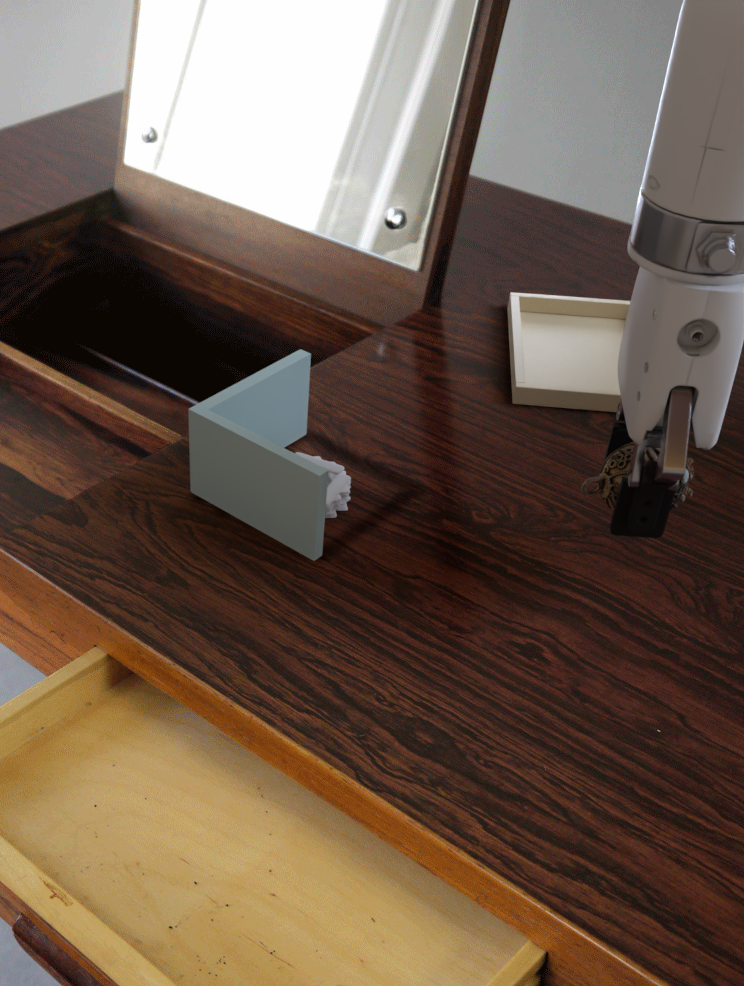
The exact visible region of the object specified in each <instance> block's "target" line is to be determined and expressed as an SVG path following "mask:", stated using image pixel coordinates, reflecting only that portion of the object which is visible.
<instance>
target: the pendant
mask: <svg viewBox="0 0 744 986" xmlns="http://www.w3.org/2000/svg"><path fill="white" fill-rule="evenodd" d="M633 447H634V442H631V443H629V444H626V445H624V446H622V447H620V448H618V449H617V450H615V451H614V452H612V453H611V454H610V455H609V456H608V457H607V459H606V460H605V461H604V460H603V462H604V463H602V465H601V469H600V470H599V475H598V476H591V477H588V478H586V479H585V480H584V481H583V482H582V484H581V487H580V492H581V493H582V495H583V496H589V497H591V496H596V495H598V494H599V495H600V497H601V499H602V501H604V503H605V505H606V506H607V508H609V509H611V510H614V507H615V503H616V499H617V495H618V492H619V488H620V484H621V480H622V477H628V475H629V469H630V464H631V458H632V453H633ZM659 453H660V448H653V447H647V449H646V454H645V459H644V465H645V464H646V463H647V462H648V461H656V459H657V458H658V457H659ZM693 463H694V459H693V458H692V457H691V456H687V459H686V468H685V474H684V477H683V478H682V479H680V480H679V485H678V488H677V490H676V493H675V496H674V499H673V503H672V506H671V509H670V512H673V511H675V510H676V509H677V508H678V507H679V506H680V502H681V503H683V502H685V501H686V498H687V497H693V492H694V491H693V489H692V488H691V487H689V483H691V482H692V480H693V479H694V478H695V468H694V466H693V465H692V464H693ZM644 465H643V466H644ZM595 483H597V486H596V487H595V488H594V489H590V490H588V486H589V485H592V484H595Z"/></svg>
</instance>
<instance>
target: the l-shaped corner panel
mask: <svg viewBox="0 0 744 986" xmlns="http://www.w3.org/2000/svg"><path fill="white" fill-rule="evenodd" d="M311 359H312V353H311V352H309V351H305V350H304V349H300V348H299V349H298V350H296V351H294V352H291V354H289V355H286V356H285V357H283V358H281V359H278V360H277V361H275V362H273V363H272V364H270V365H268V366H266V367H264V368H262V369H260V370H259V371H256V372H255V373H253V374H251V375H249V376H247V377H245V378H243V379H242V380H240V381H238V382H235V383H234V384H232V385H231V386H228V387H226V388H225V389H223V390H221V391H219V392H217V393H216V394H214V395H212V396H209V397H208V398H206V399H203V400H202V401H200V402H199V403H197V404H194V405H193V406H190V407H189V408H188V409H187V411H188V413H187V414H188V441H189V443H188V448H189V450H188V451H189V452H188V453H189V483H190V486H189V488H190V493H191V494H193V495H195V496H197V497H199V498H201V499H202V500H204V501H206V502H208V503H209V504H212V505H213V506H215V507H217V508H218V509H220V510H222V511H224V512H226V513H227V514H229V515H231V516H232V517H234V518H236V519H237V520H240V521H242V522H243V523H245V524H247V525H249V526H251V527H252V528H254V529H256V530H258V531H260V532H261V533H263V534H264V535H267V536H268V537H270V538H272V539H273V540H275V541H277V542H279V543H281V544H282V545H284V546H287V547H288V548H289V549H291V550H294V552H297V553H298V554H300V555H302V556H304V557H306V558H308V559H310V560H311V561H313V562H315V561H317V560H318V559H319V558H321V557H322V556H323V551H324V537H325V536H324V535H325V524H326V519H335V518H337V516H338V514H337V512H345V511H348V510H349V507H348V502H350V501H351V498H352V497H351V496H350V494H351V490H350V489H351V488H352V485H351V484H352V477H351V476H350V475H347V471H346V470H345V466H343V465H341V464H339V463H336V462H335V461H328V460H326V459H322V457H321V456H320V455H315V456H314V455H313V456H312V455H309V454H306V453H303V452H300V451H295V452H293V451H290V449H287V448H286V447H288V446H289V445H290V446H291V444H293V443H294V442H296V441H298V440H299V439H301V438H303V437H305V436H306V435H307V433H308V417H309V415H308V414H309V398H310V380H311V364H312V363H311V362H312V361H311Z"/></svg>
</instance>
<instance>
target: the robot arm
mask: <svg viewBox="0 0 744 986" xmlns="http://www.w3.org/2000/svg"><path fill="white" fill-rule="evenodd" d="M677 19H678V20H677V24H676V28H675V33H674V37H673V42H672V47H671V50H670V55H669V59H668V63H667V68H666V73H665V78H664V82H663V87H662V91H661V96H660V99H659V104H658V109H657V113H656V118H655V121H654V122H655V123H654V126H653V131H652V137H651V142H650V143H649V144H650V145H649V150H648V153H647V158H646V162H645V167H644V171H643V175H642V181H641V185H640V188H639V193H638V197H637V202H636V206H635V210H634V214H633V215H634V216H633V219H632V224H631V229H630V233H629V236H628V241H627V247H626V249H627V250H626V251H627V254H628V256H629V257H630V259H631V260H632V261H633V262H634V263H636V264H637V265H638V266H639V269H638V272H637V275H636V279H635V282H634V287H633V291H632V293H631V297H630V300H629V301H630V305H629V309H628V313H627V318H626V322H625V326H624V331H623V335H622V340H621V345H620V351H619V358H618V381H619V388H620V394H621V398H620V401H619V404H618V407H617V412H616V415H615V417H616V418H615V419H616V421H617V422H612V425H611V430H610V434H609V438H608V442H607V447H606V450H605V455H604V459H603V463H604V461H605V460H606V459H607V457H608V456H609V455H610V454H611V453H612V452H614V451H615V450H617V449H618V448H620V447H622V446H624V445H626V444H629V443H631V442H634V447H633V453H632V458H631V464H630V469H629V475H628V477H622V480H621V484H620V488H619V492H618V495H617V499H616V503H615V507H614V509H613V511H612V516H611V519H610V523H609V530H610V533H611V535H613V536H619V537H620V536H621V537H632V538H633V537H635V538H647V539H660V538H661V537H662V536H663V535H664V533H665V529H666V526H667V522H668V520H669V516H670V513H671V511H670V509H671V506H672V503H673V499H674V496H675V493H676V490H677V488H678V485H679V480H680V479H682V478H683V477H684V474H685V468H686V459H687V457H688V448H689V439H690V438H689V437H690V430H691V431H692V435H693V439H694V443H695V447H696V449H702V450H704V451H709V450H711V449H712V448H713V447H714V446H715V445H716V444H717V443H718V440H719V437H720V433H721V430H722V426H723V423H724V419H725V415H726V411H727V409H728V404H729V400H730V397H731V392H732V389H733V385H734V382H735V378H736V375H737V374H736V373H737V371H738V367H739V362H740V358H741V354H742V349H743V346H744V0H682V4H681V7H680V11H679V14H678V18H677ZM647 447H653V448H660V453H659V457H658V458H657V459H656V461H648V462H647V463H646V464H645V465H644V459H645V454H646V449H647ZM603 463H602V464H603ZM643 465H644V466H643Z"/></svg>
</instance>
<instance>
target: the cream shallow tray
mask: <svg viewBox="0 0 744 986" xmlns="http://www.w3.org/2000/svg"><path fill="white" fill-rule="evenodd" d="M630 301H631V300H622V299H610V298H596V297H583V296H569V295H554V294H553V295H552V294H541V293H527V292H514V291H513V292H512V291H511V292H510V293H509V298H508V302H507V325H508V343H509V362H510V376H511V377H510V379H511V380H510V381H511V394H512V395H511V399H512V401H511V402H512V404H515V405H526V406H527V405H528V406H537V407H550V408H560V409H562V408H564V409H573V410H587V411H598V412H599V411H600V412H610V413H617V407H618V404H619V401H620V398H621V394H620V388H619V381H618V358H619V351H620V345H621V340H622V335H623V331H624V326H625V322H626V318H627V313H628V309H629V305H630Z"/></svg>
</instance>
